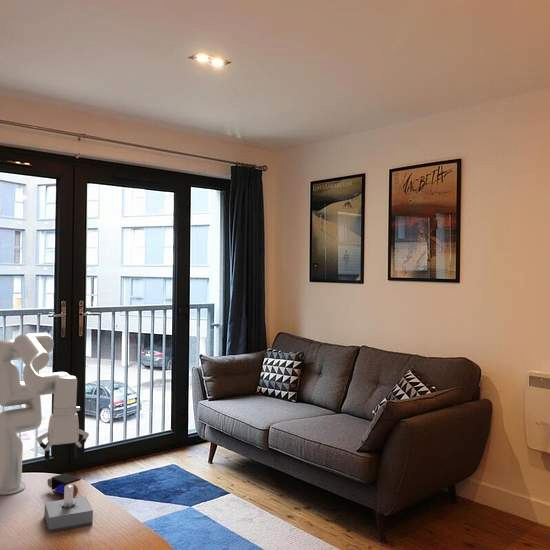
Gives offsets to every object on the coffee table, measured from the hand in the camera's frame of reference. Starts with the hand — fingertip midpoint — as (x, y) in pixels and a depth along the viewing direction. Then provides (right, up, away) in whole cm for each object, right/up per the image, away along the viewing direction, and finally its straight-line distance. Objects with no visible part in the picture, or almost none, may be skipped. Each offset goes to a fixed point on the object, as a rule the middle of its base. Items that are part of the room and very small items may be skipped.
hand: (62, 459), depth 194 cm
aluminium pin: (+2, -20, -1) cm, 20 cm away
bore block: (+3, -21, -1) cm, 21 cm away
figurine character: (-8, -22, +22) cm, 32 cm away
